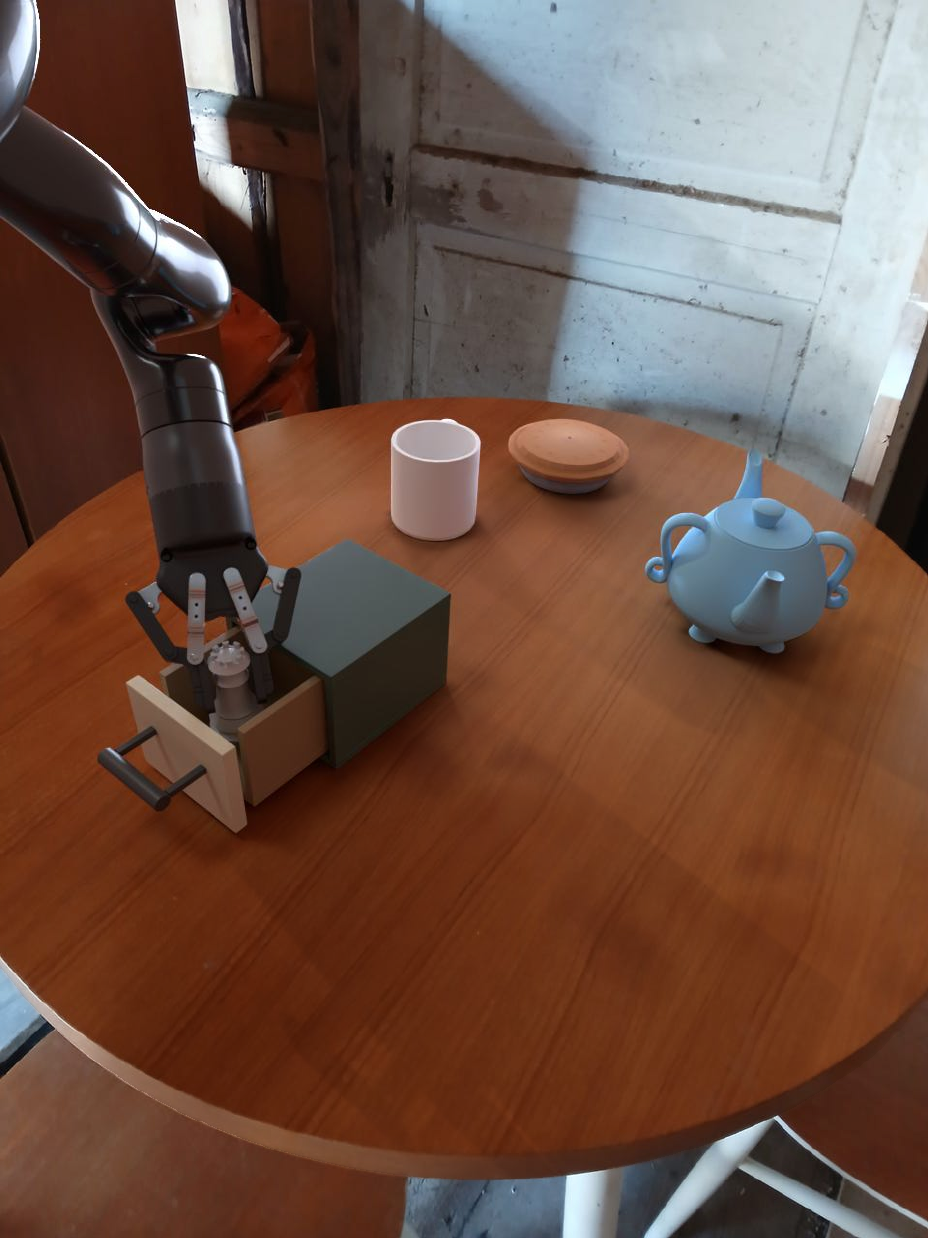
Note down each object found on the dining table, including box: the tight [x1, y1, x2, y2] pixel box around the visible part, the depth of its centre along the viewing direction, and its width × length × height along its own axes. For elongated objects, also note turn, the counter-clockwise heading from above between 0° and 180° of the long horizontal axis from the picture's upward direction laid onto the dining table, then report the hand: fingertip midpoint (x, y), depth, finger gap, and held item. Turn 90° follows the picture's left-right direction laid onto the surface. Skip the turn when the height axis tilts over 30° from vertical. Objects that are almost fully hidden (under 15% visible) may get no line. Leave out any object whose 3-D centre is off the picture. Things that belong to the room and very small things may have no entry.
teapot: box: [644, 448, 857, 654], centre depth 91 cm, size 16×20×14 cm
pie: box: [507, 418, 630, 495], centre depth 116 cm, size 15×16×5 cm
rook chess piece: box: [207, 641, 264, 743], centre depth 71 cm, size 4×4×8 cm
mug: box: [390, 418, 481, 542], centre depth 105 cm, size 13×10×10 cm
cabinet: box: [224, 538, 452, 771], centre depth 80 cm, size 15×13×11 cm
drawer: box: [96, 625, 329, 834], centre depth 72 cm, size 18×11×9 cm, turn 141°
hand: (237, 707), depth 70 cm, fingers closed on rook chess piece, 3 cm apart
